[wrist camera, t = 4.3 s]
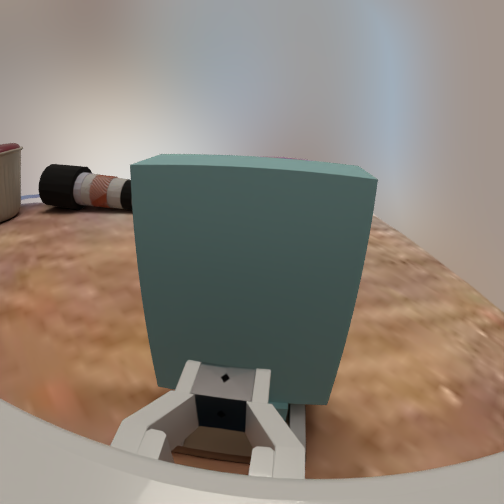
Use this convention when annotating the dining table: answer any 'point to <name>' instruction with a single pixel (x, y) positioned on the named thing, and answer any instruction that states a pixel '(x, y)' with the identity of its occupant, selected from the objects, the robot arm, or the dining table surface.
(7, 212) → the canister
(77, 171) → the cable
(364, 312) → the dining table surface
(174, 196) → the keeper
